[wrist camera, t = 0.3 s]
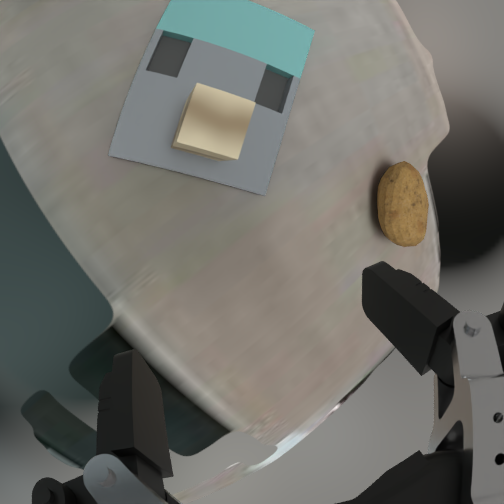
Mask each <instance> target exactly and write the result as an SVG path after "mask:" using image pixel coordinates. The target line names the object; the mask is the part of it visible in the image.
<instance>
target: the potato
mask: <svg viewBox="0 0 504 504" xmlns="http://www.w3.org/2000/svg"><path fill="white" fill-rule="evenodd" d="M428 206H429V204H428V198H427V194H426V191H425V187H424V183H423V180H422V178H421V176H420V173H419V172H418V171H417V170H416V169H415V168H414V167H413V166H412V165H411V164H409V163H407V162H405V161H403V162H400V163H397V164H395V165H393V166H391V167H389V168H388V170H387V171H386V172H385V174H384V175H383V176H382V178H381V180H380V183H379V185H378V193H377V208H378V218H379V222H380V226H381V229H382V231H383V233H384V234H385V236H386V237H387V238H388V239H389V240H391V241H392V242H394V243H395V244H397V245H400V246H403V247H406V246H416V245H417V244H419V243H420V242H421V241H422V240H423V239H424V236H425V233H426V226H427V213H428Z"/></svg>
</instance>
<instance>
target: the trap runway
mask: <svg viewBox="0 0 504 504" xmlns="http://www.w3.org/2000/svg"><path fill="white" fill-rule="evenodd" d="M314 32H315V31H314V30H312V29H311V28H309V27H307V26H305V25H303V24H301V23H299V22H297V21H295V20H293V19H290V18H288V17H286V16H284V15H282V14H280V13H277V12H275V11H273V10H270V9H268V8H266V7H263V6H261V5H258V4H256V3H253V2H251V1H248V0H171V1H170V3H169V5H168V7H167V8H166V10H165V12H164V14H163V16H162V18H161V20H160V22H159V24H158V26H157V28H156V30H155V32H154V34H153V36H152V38H151V40H150V42H149V44H148V46H147V49H146V51H145V53H144V55H143V58H142V60H141V62H140V65H139V67H138V69H137V72H136V74H135V77H134V79H133V82H132V84H131V87H130V89H129V92H128V95H127V98H126V100H125V103H124V106H123V109H122V112H121V115H120V118H119V121H118V124H117V127H116V130H115V133H114V136H113V140H112V143H111V147H110V150H109V154H108V156H112V157H117V158H121V159H126V160H130V161H134V162H139V163H143V164H147V165H152V166H156V167H160V168H164V169H168V170H172V171H176V172H180V173H184V174H188V175H191V176H195V177H199V178H203V179H207V180H210V181H214V182H218V183H221V184H225V185H228V186H232V187H235V188H239V189H242V190H246V191H249V192H253V193H256V194H259V195H263V196H265V194H266V191H267V188H268V184H269V181H270V178H271V174H272V171H273V168H274V164H275V161H276V158H277V154H278V151H279V148H280V144H281V141H282V138H283V134H284V131H285V128H286V124H287V121H288V118H289V114H290V111H291V108H292V104H293V101H294V98H295V94H296V91H297V88H298V84H299V81H300V78H301V75H302V71H303V68H304V65H305V61H306V58H307V55H308V51H309V48H310V45H311V42H312V38H313V35H314ZM196 83H200V84H203V85H206V86H209V87H213V88H216V89H219V90H222V91H225V92H228V93H231V94H234V95H236V96H239V97H242V98H245V99H248V100H250V101H253V102H256V104H255V107H254V110H253V113H252V116H251V119H250V122H249V126H248V129H247V132H246V135H245V138H244V142H243V145H242V148H241V151H240V155H239V158H238V160H227V161H217V160H213V159H210V158H206V157H203V156H199V155H195V154H192V153H188V152H184V151H181V150H177V149H173V148H171V145H172V142H173V139H174V135H175V132H176V129H177V126H178V123H179V120H180V117H181V114H182V111H183V108H184V105H185V103H186V100H187V98H188V97H189V95H190V93H191V92H192V90H193V88H194V87H195V85H196Z"/></svg>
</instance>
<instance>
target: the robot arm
mask: <svg viewBox="0 0 504 504" xmlns="http://www.w3.org/2000/svg"><path fill="white" fill-rule="evenodd" d="M362 306H363V310H364V312H365V314H366V316H367V317H368V318H369V319H370V321H371V322H372V323H373V324H374V325H375V326H376V327H377V328H378V329H379V330H380V331H381V332H382V333H383V334H384V335H385V337H386V338H387V339H388V340H389V341H390V342H391V343H392V344H393V345H394V346H395V347H396V348H397V349H398V351H399V352H400V353H401V354H402V355H403V356H404V357H405V358H406V359H407V360H408V362H409V363H410V364H411V365H412V366H413V367H414V368H415V369H416V370H417V372H419V374H420V375H421V376H422V375H424V374H425V373H427V372H428V371H429V370H431V369H432V370H433V371H434V372H435V375H434V426H433V430H432V433H431V436H430V441H429V446H428V454H425V455H423V454H422V453H421V452H420V451H417V452H416V453H414V454H413V455H411V456H410V457H408V458H407V459H405V460H404V461H402V462H401V463H399V464H398V465H396V466H394V467H393V468H391V469H389V470H388V471H386V472H385V473H384V474H383V475H382V476H381V477H380V478H379V479H377V480H376V481H375V482H374V483H373V484H372V485H371V486H369V487H368V488H367V489H366V490H365V491H364V492H362V493H361V494H360V495H359V496H358V497H356V498H354V499H353V500H349V501H345V502H341V503H337V504H504V304H503V306H502V309H501V311H499V312H496V313H493V314H490V315H488V316H485V315H483V314H482V313H479V312H477V311H471V310H467V311H463V312H460V311H458V310H457V309H456V308H454V307H453V306H452V305H451V304H450V303H448V302H447V301H446V300H445V299H443V298H442V297H441V296H440V295H438V294H437V293H436V292H435V291H433V290H432V289H431V290H430V288H429V287H428V286H427V285H426V284H424V283H423V284H422V281H420V280H419V279H418V278H416V277H415V276H414V275H412V274H411V273H408V272H405V271H402V270H400V269H397V270H395V269H394V268H393V267H391V266H390V265H389V264H387V263H386V262H384V261H381V262H379V263H376V264H374V265H372V266H369V267H367V268H365V269H364V270H363V273H362ZM98 411H99V413H98V419H97V451H96V456H95V457H93V458H92V459H91V460H90V461H89V462H88V463H87V465H86V467H85V469H84V472H83V475H82V476H79V477H77V478H75V479H72V480H70V481H68V482H65V483H63V484H62V483H60V482H58V481H57V480H55V479H53V478H43V479H41V480H39V481H38V482H37V483H36V485H35V486H34V488H33V491H32V504H182V503H181V502H180V501H179V500H177V499H176V498H175V497H174V496H172V495H171V494H170V493H169V492H168V491H167V490H165V489H164V485H163V479H162V478H167V477H173V471H172V465H171V459H170V453H169V447H168V440H167V433H166V426H165V418H164V410H163V401H162V393H161V389H160V386H159V383H158V381H157V379H156V377H155V376H154V374H153V373H152V371H151V370H150V368H149V367H148V365H147V364H146V362H145V361H144V359H143V358H142V356H141V355H140V353H139V352H138V351H137V350H135V349H134V350H131V351H127V352H124V353H120V354H116V355H115V356H114V358H113V369H112V372H110V373H106V375H105V377H104V379H103V381H102V383H101V385H100V390H99V404H98Z"/></svg>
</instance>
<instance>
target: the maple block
mask: <svg viewBox="0 0 504 504" xmlns="http://www.w3.org/2000/svg"><path fill="white" fill-rule="evenodd" d="M255 104H256V102H253V101H250V100H248V99H245V98H242V97H239V96H236V95H234V94H231V93H228V92H225V91H222V90H219V89H216V88H213V87H209V86H206V85H203V84H200V83H196V85H195V87H194V88H193V90H192V92H191V93H190V95H189V97H188V98H187V100H186V103H185V105H184V108H183V111H182V114H181V117H180V120H179V123H178V126H177V129H176V132H175V135H174V139H173V142H172V145H171V148H173V149H177V150H181V151H184V152H188V153H192V154H195V155H199V156H203V157H206V158H210V159H213V160H217V161H227V160H238V158H239V155H240V151H241V148H242V145H243V142H244V138H245V135H246V132H247V129H248V126H249V122H250V119H251V116H252V113H253V110H254V107H255Z"/></svg>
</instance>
